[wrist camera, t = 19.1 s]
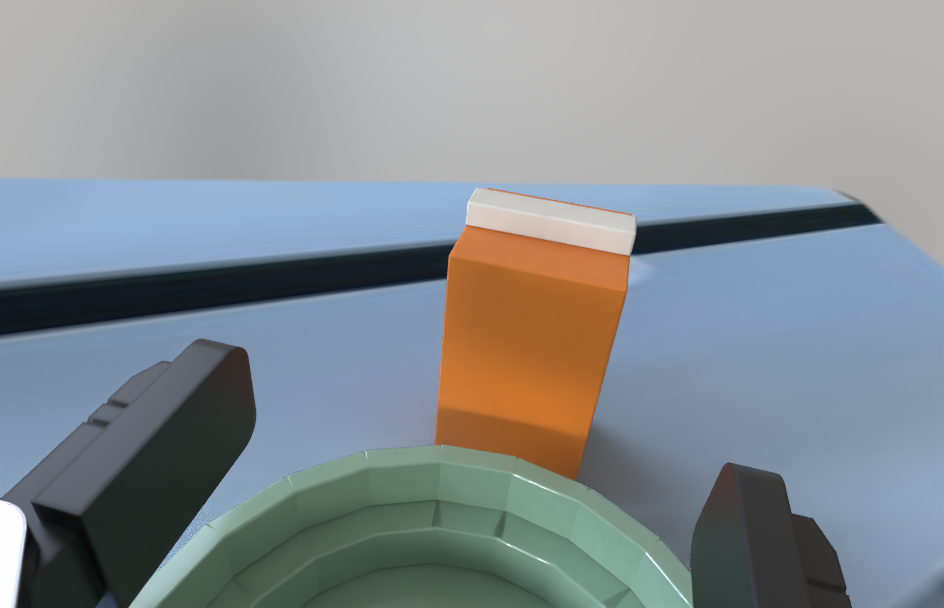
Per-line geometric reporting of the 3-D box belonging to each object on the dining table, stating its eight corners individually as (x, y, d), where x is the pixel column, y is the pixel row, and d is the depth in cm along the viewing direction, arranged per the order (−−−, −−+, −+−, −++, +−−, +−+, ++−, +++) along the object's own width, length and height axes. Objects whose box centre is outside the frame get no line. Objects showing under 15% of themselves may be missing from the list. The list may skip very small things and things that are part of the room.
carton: (431, 474, 23) (449, 229, 17) (465, 386, 27) (489, 165, 21) (568, 509, 22) (634, 265, 16) (581, 413, 26) (638, 191, 20)
